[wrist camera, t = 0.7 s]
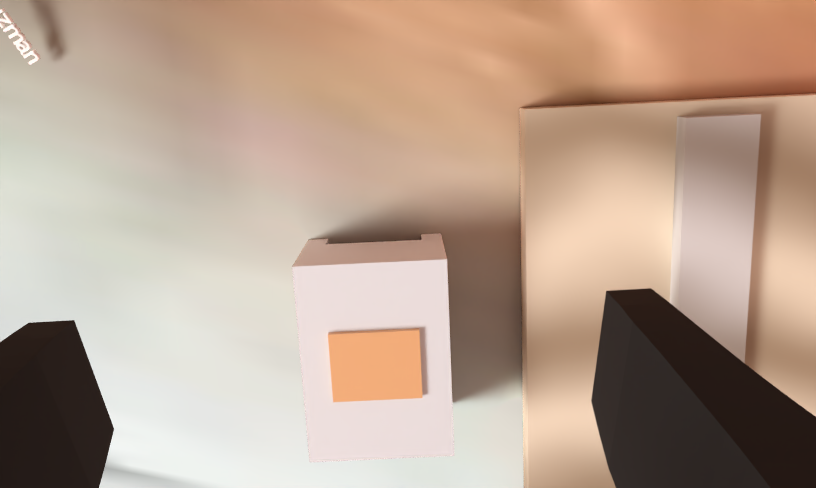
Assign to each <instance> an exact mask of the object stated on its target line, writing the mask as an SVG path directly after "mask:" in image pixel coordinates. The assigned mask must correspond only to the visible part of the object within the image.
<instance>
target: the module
mask: <svg viewBox="0 0 816 488" xmlns="http://www.w3.org/2000/svg"><path fill="white" fill-rule="evenodd" d="M292 270H293V281H294V292H295V304H296V315H297V326H298V337H299V349H300V360H301V371H302V382H303V393H304V405H305V416H306V427H307V438H308V450H309V461H310V462H327V461H348V460H370V459H392V458H414V457H435V456H454V434H453V407H452V379H451V352H450V325H449V297H448V270H447V257H446V252H445V248H444V244H443V240H442V236H441V233H437V234H421V240H405V241H384V242H363V243H342V244H329V241H328V239H312V240H308V241H307V243H306V245H305V246H304V248H303V250H302V251H301V253H300V255H299V256H298V258H297V260H296V261H295V263H294V265H293V266H292Z"/></svg>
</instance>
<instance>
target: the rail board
mask: <svg viewBox="0 0 816 488" xmlns="http://www.w3.org/2000/svg"><path fill="white" fill-rule="evenodd" d="M519 116H520V203H521V290H522V378H523V465H524V488H616V487H615V484H614V481H613V479H612V476H611V473H610V471H609V468H608V465H607V461H606V457H605V454H604V450H603V446H602V442H601V439H600V435H599V431H598V427H597V423H596V419H595V415H594V411H593V406H592V402H591V399H592V392H593V384H594V377H595V369H596V362H597V355H598V347H599V340H600V333H601V325H602V318H603V311H604V303H605V296H606V291H611V290H629V289H647V288H651V289H653V290H654V291H655V292H656V293H658V294H659V295H660V296H662V297H663V298H664V299H666V300H667V301H668V302H669V303H671V304H672V305H673V306H674V307H676V308H677V309H678V310H679V311H680V312H682V313H683V314H684V315H685V316H687V317H688V318H689V319H690V320H692V321H693V322H694V323H695V324H696V325H698V326H699V327H700V328H701V329H703V330H704V331H705V332H706V333H707V334H709V335H710V336H711V337H712V338H714V339H715V340H716V341H717V342H719V343H720V344H721V345H722V346H724V347H725V348H726V349H727V350H729V351H730V352H731V353H732V354H734V355H735V356H736V357H737V358H739V359H740V360H741V361H742V362H744V363H745V364H746V365H747V366H749V367H750V368H751V369H753V370H754V371H755V372H757V373H758V374H759V375H760V376H762V377H763V378H764V379H766V380H767V381H768V382H769V383H771V384H772V385H773V386H775V387H776V388H777V389H779V390H780V391H781V392H783V393H784V394H785V395H787V396H788V397H790V398H791V399H792V400H794V401H795V402H796V403H798V404H799V405H800V406H802V407H803V408H804V409H806V410H807V411H809V412H810V413H811V414H813V415H814V416H816V93H814V94H793V95H773V96H753V97H732V98H712V99H692V100H671V101H651V102H631V103H610V104H590V105H569V106H549V107H529V108H519Z"/></svg>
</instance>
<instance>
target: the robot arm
mask: <svg viewBox="0 0 816 488" xmlns="http://www.w3.org/2000/svg"><path fill="white" fill-rule="evenodd" d="M591 402H592V406H593V411H594V415H595V419H596V423H597V427H598V431H599V435H600V439H601V442H602V446H603V450H604V454H605V457H606V461H607V465H608V468H609V471H610V473H611V476H612V479H613V481H614V484H615V487H616V488H816V416H814V415H813V414H811V413H810V412H809V411H807V410H806V409H804V408H803V407H802V406H800V405H799V404H798V403H796V402H795V401H794V400H792V399H791V398H790V397H788V396H787V395H785V394H784V393H783V392H781V391H780V390H779V389H777V388H776V387H775V386H773V385H772V384H771V383H769V382H768V381H767V380H766V379H764V378H763V377H762V376H760V375H759V374H758V373H757V372H755V371H754V370H753V369H751V368H750V367H749V366H747V365H746V364H745V363H744V362H742V361H741V360H740V359H739V358H737V357H736V356H735V355H734V354H732V353H731V352H730V351H729V350H727V349H726V348H725V347H724V346H722V345H721V344H720V343H719V342H717V341H716V340H715V339H714V338H712V337H711V336H710V335H709V334H707V333H706V332H705V331H704V330H703V329H701V328H700V327H699V326H698V325H696V324H695V323H694V322H693V321H692V320H690V319H689V318H688V317H687V316H685V315H684V314H683V313H682V312H680V311H679V310H678V309H677V308H676V307H674V306H673V305H672V304H671V303H669V302H668V301H667V300H666V299H664V298H663V297H662V296H660V295H659V294H658V293H656V292H655V291H654V290H653V289H651V288H647V289H629V290H611V291H606V296H605V303H604V311H603V318H602V325H601V333H600V340H599V347H598V355H597V362H596V369H595V377H594V384H593V392H592V399H591ZM113 431H114V428H113V425H112V422H111V419H110V417H109V414H108V411H107V409H106V406H105V403H104V400H103V398H102V395H101V392H100V390H99V387H98V384H97V381H96V379H95V376H94V373H93V370H92V368H91V365H90V362H89V360H88V357H87V354H86V351H85V349H84V346H83V343H82V341H81V338H80V335H79V332H78V330H77V327H76V324H75V322H74V320H72V321H54V322H36V323H28V324H26V325H25V326H23V327H22V328H20V329H19V330H17V331H16V332H14V333H13V334H11V335H10V336H8V337H7V338H6V339H4V340H3V341H1V342H0V488H99V485H100V482H101V478H102V474H103V471H104V467H105V463H106V459H107V455H108V451H109V447H110V443H111V439H112V435H113Z"/></svg>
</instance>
